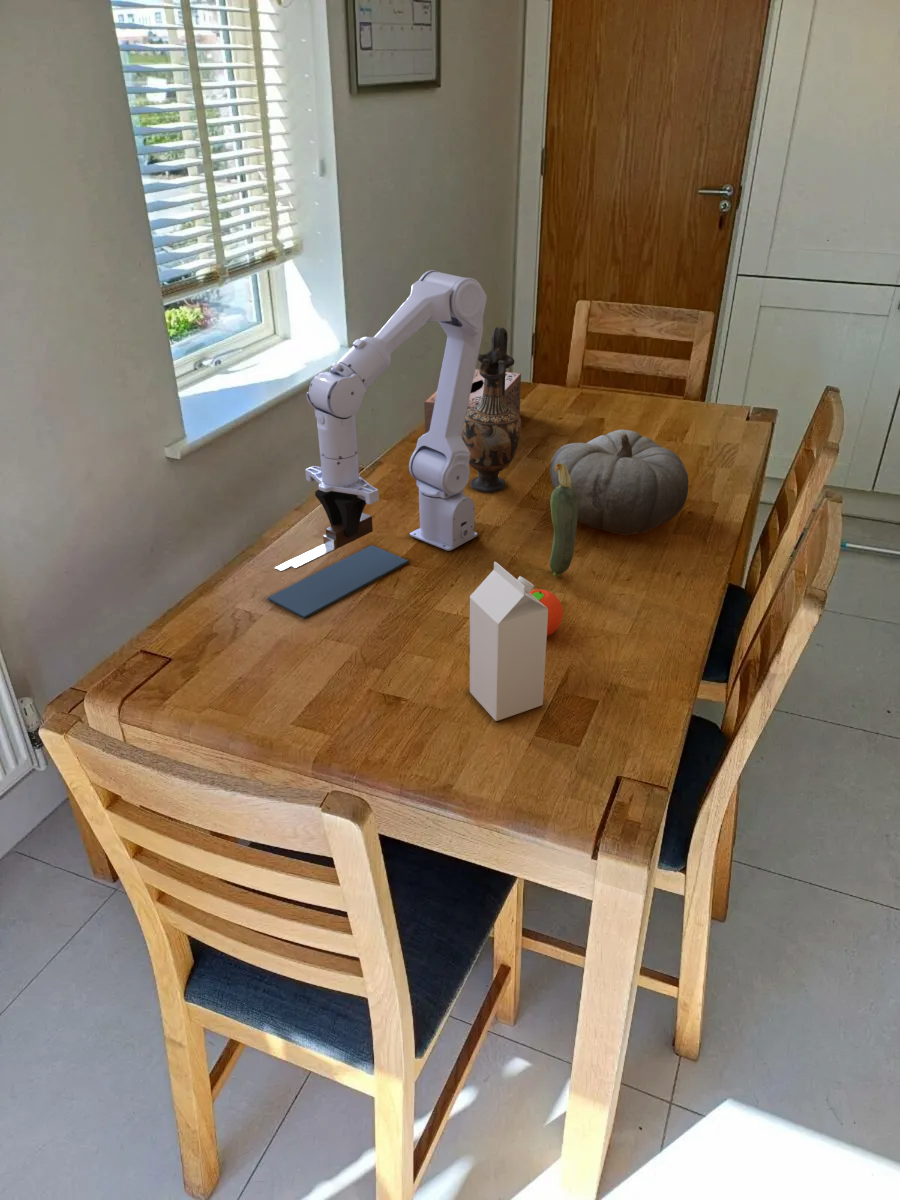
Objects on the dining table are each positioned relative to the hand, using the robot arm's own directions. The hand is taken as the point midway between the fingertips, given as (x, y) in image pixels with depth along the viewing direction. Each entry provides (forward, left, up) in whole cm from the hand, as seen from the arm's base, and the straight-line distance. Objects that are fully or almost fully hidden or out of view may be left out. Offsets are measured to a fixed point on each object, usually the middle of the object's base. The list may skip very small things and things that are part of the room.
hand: (345, 532), depth 141 cm
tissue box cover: (+26, -65, -8) cm, 70 cm away
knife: (0, +4, -1) cm, 5 cm away
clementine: (-35, -5, -8) cm, 36 cm away
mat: (-1, +2, -8) cm, 8 cm away
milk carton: (-41, +10, -8) cm, 43 cm away
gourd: (-23, -46, -8) cm, 52 cm away
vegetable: (-28, -21, -8) cm, 36 cm away
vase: (+4, -43, -8) cm, 44 cm away
